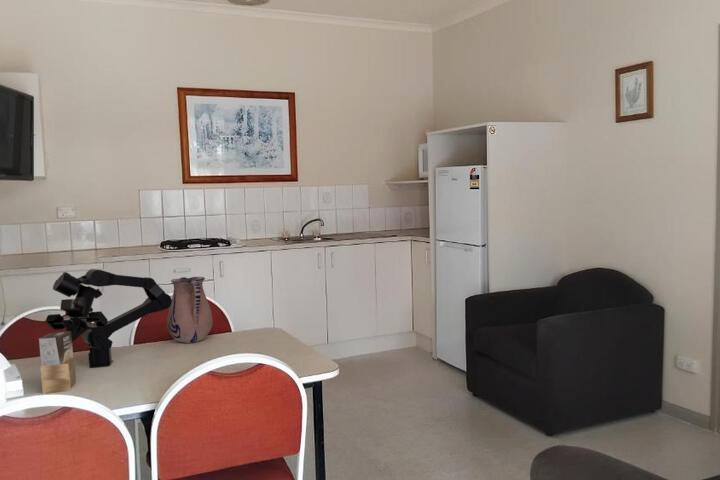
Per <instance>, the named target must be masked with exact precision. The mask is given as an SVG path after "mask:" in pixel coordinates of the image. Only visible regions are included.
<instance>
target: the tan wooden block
mask: <svg viewBox="0 0 720 480" xmlns="http://www.w3.org/2000/svg"><path fill="white" fill-rule="evenodd" d="M75 363H76V362H75V357H74V356H73V358H70V359H69V360H68V361H67V362H66V363H65V364H60V365H50V366H41V365H40V367H39V368H40V378H41V389H42V390H41V392H42V394H50V393H51V394H52V393H61V392H69V391H70V392H71V390H72V388H73V387H74V386H75V385H76V384H77V376H76V364H75Z"/></svg>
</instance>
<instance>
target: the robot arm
mask: <svg viewBox="0 0 720 480" xmlns="http://www.w3.org/2000/svg"><path fill="white" fill-rule="evenodd" d="M111 286H124V287H132V288H133V287H134V288H142V289H143V290H144V292H145V294H146V295H145V296H146V297H147V298H146V299H145V300H144V301H143V302H142V303H140V304H139V305H137V306H135V307H133V308H132V309H129V310H127V311H125V312H124V313H121V314H119V315H117V316H115V317H113V318H111V319H110V320H108V318H107V317H106V316H105V315H104V313H103V312H102V310H100V311H93V310H94V309H93V308H92V306H93V302H94V300H95V299H99V298H100V297H101V296H103V293H102V291H100V288H101V287H111ZM94 287H98V288H94ZM52 290H54V292H57V293H59V294H61V295H62V296H63V295H64V296H65V297H68V298H67V299H61V300H60V308H59V309H60V311H64V312H65V315H66V316H64V315H63V316H62V315H61V314H60V313H54V314H53V313H52V314H48V315H47V316H46V318H45V323H47V325H48V326H49V327H50V328H51V329H52V330H54V331H61V330H65V331H71V337H72V344H73V342H75V341H76V340H77V339H78V338H79V337H80V336H81V339H82V341H83V342H84V343H86V344H87V346H88V347H89V352H88V354H87V355H88V364H89V368H91V369H92V368H100V367H102V368H103V367H110V366H111V365H112V363H113V362H114V360H113V359H112V346H113V341H112V340H111V339H109V338H110V337H112V334H114V333H115V332H116V331H120V330H121V329H123V328H124V327H127V326H129V325H131V324H132V323H134V322H136V321H138V320H141V318H144V317H146V316H147V315H149V314H154V313H158V312H162V311H164V310H169V308H170V306H171V303H172V297H171V295H169V294H168V293H166V291H164V289H162V287H160V285H158V283H157V282H156V281H155V279H154V278H152V277H148V276H147V277H146V276H145V277H142V276H131V275H122V274H121V275H120V274H116V273H112V272H108V271H106V270H102V269H96V268H91V269H89V270H88V271H86V273H85V274H84V275H81V276H78V277H75V276H74V275H72V274H70V273H68V272H66V271H64V272H62V274H61V275H60V276H59V277H58V278H57V279H56V280H55V282H54V283H53V286H52ZM74 296H75V298H70V297H74ZM69 298H70V299H69Z"/></svg>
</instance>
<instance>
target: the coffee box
mask: <svg viewBox="0 0 720 480" xmlns="http://www.w3.org/2000/svg"><path fill="white" fill-rule="evenodd" d="M38 344H39V345H38V346H39V357H40V358H39V359H40V367H41V366H50V365H60V364H65V363H66V362H67V361H68V360H69V359H70V358H73V357H74V353H73V351H74V349H73V343H72V337H71V331H67V330H65V331H54V332H49V333H48V334H45V335H43V336H41V337H39V338H38Z"/></svg>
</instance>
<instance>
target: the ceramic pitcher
mask: <svg viewBox="0 0 720 480" xmlns="http://www.w3.org/2000/svg"><path fill="white" fill-rule="evenodd" d="M205 280H206V278H205V277H204V276H192V277H185V276H182V277H179V278H173V279H171V280H170V282H171V283H172V285H173V292H172V293H173V294H172V297H171V299H172V303H171V306H170V307H169V308H168V313H167V317H166V328H167V330H168V333H169V334H170V336H171V337H172V338H173V339H174V340H175V341H177V342H178V343H180V342H181V343H187V344H188V343H189V344H191V343H197V342H200V341H203V340H204V339H206V337H207V336H208V334H209V333H210V331H211V330H212V327H213V323H214V317H213V314H212V309H211V306H210V304H209V300H208V299H207V295H206V293H205V290H204V286H203V282H204V281H205Z"/></svg>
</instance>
